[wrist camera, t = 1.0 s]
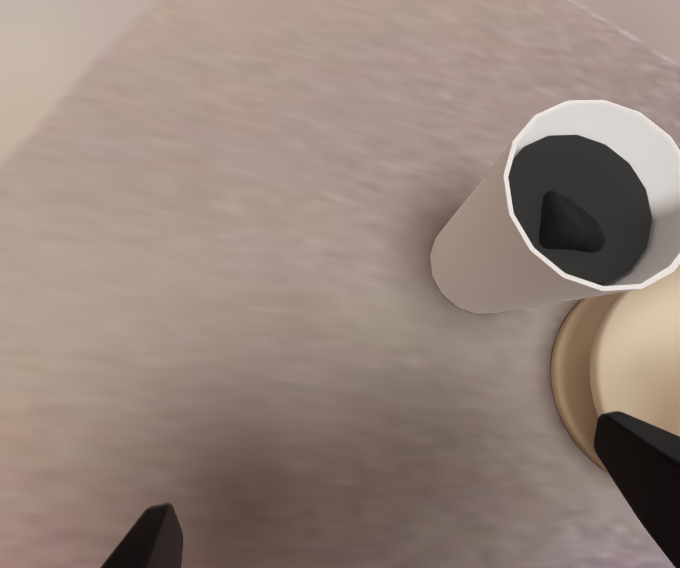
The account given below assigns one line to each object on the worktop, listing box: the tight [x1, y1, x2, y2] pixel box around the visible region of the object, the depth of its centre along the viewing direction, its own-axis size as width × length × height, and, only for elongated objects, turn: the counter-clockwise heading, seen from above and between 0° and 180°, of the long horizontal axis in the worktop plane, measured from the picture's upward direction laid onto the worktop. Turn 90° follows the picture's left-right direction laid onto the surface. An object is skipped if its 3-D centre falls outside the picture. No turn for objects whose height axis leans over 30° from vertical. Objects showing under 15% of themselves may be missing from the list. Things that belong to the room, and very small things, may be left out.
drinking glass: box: [430, 100, 680, 314], centre depth 19 cm, size 7×7×10 cm
